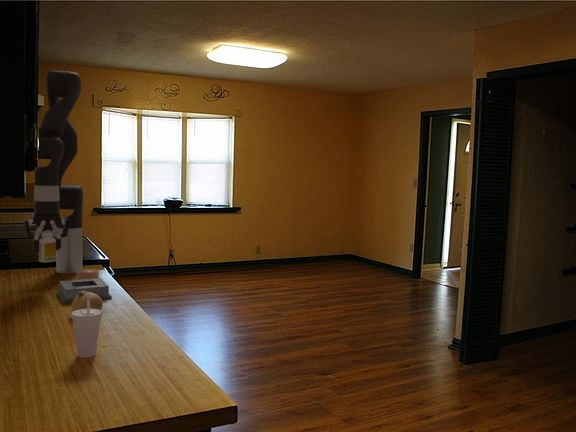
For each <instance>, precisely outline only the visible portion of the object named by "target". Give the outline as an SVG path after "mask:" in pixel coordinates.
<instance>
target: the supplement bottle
mask: <svg viewBox="0 0 576 432" xmlns="http://www.w3.org/2000/svg"><path fill="white" fill-rule="evenodd" d="M54 236H55V233H54V231H53V230H45V231H41V234H40V238H38V240H39V251H38V262H40V263H55V262H56V259H57V256H56V238H55V237H54Z"/></svg>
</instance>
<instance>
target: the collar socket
mask: <svg viewBox="0 0 576 432" xmlns="http://www.w3.org/2000/svg"><path fill="white" fill-rule="evenodd" d="M109 288H110V286H109V285H108V283H106V282H105V281H104V280H103V279H102V278H101V277H99V278H97V279H84V280H77V279H73V280H72V279H71V280H60V281H59V289H57V290H56V294H57V295H58V297H59V299H60V300H61V302H62V303H63V304H64V305H65V304H72V302H73V300H74V298H75V297H76V296H77V295H78V293H79V292H82V291H86V292H91V293H95V294H96V295H98V296H99V297H100V298H101V299H102V301H103V300H112V299H113V296H112V295H111V293H110V292H109V291H110V290H109Z"/></svg>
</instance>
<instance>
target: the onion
mask: <svg viewBox="0 0 576 432" xmlns="http://www.w3.org/2000/svg"><path fill="white" fill-rule="evenodd" d="M87 293H90V309H99V310H101V311H102V309H103V304H104V303H103V302H104V301H103V300H102V299H101V298H100V297H99V296H98V295H96V294H95V293H91V292H86V291H82V292H79V293H78V295H77V296H76V297H75V298H74V300H73V302H72V303H71V310H72V312H74V311H76V310H80V309H87Z"/></svg>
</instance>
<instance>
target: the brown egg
mask: <svg viewBox="0 0 576 432" xmlns="http://www.w3.org/2000/svg"><path fill="white" fill-rule="evenodd" d="M99 273H100V271H99V270H98V269H92V268H91V269H90V268H87V269H82V270H79V271H77V273H76V280H84V279H97V278H100V274H99Z"/></svg>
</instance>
